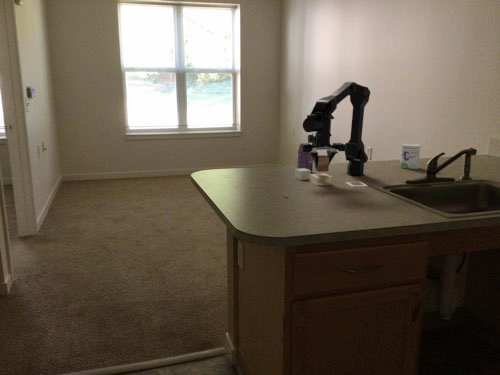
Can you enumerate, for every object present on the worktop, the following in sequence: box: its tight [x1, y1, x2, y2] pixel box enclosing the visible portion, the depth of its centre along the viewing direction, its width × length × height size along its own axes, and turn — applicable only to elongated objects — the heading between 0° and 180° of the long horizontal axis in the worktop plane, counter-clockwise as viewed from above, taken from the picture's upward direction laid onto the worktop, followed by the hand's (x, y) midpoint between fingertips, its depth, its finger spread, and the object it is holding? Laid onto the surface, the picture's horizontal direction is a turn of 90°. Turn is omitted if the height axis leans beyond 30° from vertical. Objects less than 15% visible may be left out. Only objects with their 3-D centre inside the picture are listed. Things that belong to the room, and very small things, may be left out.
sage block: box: [294, 168, 312, 181], centre depth 197 cm, size 5×5×4 cm
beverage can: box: [296, 149, 314, 172], centre depth 209 cm, size 7×7×12 cm
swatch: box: [345, 181, 369, 188], centre depth 187 cm, size 7×7×1 cm
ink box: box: [399, 143, 421, 170], centre depth 223 cm, size 9×5×12 cm, turn 73°
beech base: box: [309, 173, 333, 186], centre depth 189 cm, size 7×7×4 cm
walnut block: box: [314, 154, 330, 173], centre depth 187 cm, size 4×4×6 cm
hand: (321, 167), depth 188 cm, fingers closed on walnut block, 4 cm apart
